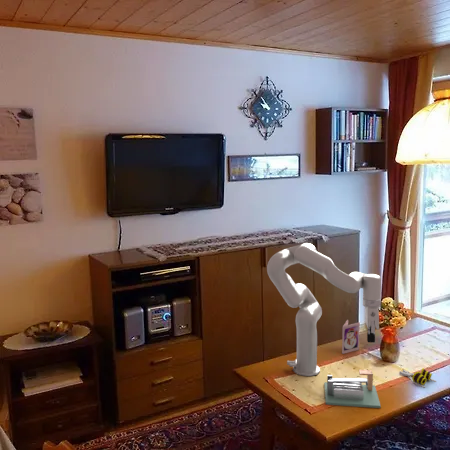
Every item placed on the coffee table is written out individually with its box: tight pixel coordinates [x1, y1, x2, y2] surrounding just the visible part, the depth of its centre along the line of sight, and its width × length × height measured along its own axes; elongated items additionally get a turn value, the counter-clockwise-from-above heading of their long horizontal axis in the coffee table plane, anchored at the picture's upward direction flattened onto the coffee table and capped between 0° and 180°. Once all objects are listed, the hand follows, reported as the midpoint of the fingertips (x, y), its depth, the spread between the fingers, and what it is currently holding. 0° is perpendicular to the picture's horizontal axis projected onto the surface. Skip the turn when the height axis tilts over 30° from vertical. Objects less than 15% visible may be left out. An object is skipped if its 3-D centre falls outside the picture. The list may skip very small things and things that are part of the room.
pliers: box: [398, 369, 437, 389], centre depth 231 cm, size 10×2×15 cm
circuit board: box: [323, 381, 381, 409], centre depth 216 cm, size 22×18×1 cm
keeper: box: [358, 369, 374, 390], centre depth 220 cm, size 6×4×7 cm
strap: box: [329, 377, 368, 386], centre depth 215 cm, size 16×3×2 cm, turn 81°
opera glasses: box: [412, 367, 433, 386], centre depth 228 cm, size 10×5×5 cm, turn 133°
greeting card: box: [341, 319, 361, 354], centre depth 263 cm, size 11×7×15 cm, turn 118°
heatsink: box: [326, 374, 363, 400], centre depth 216 cm, size 14×10×6 cm
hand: (370, 341), depth 225 cm, fingers closed
